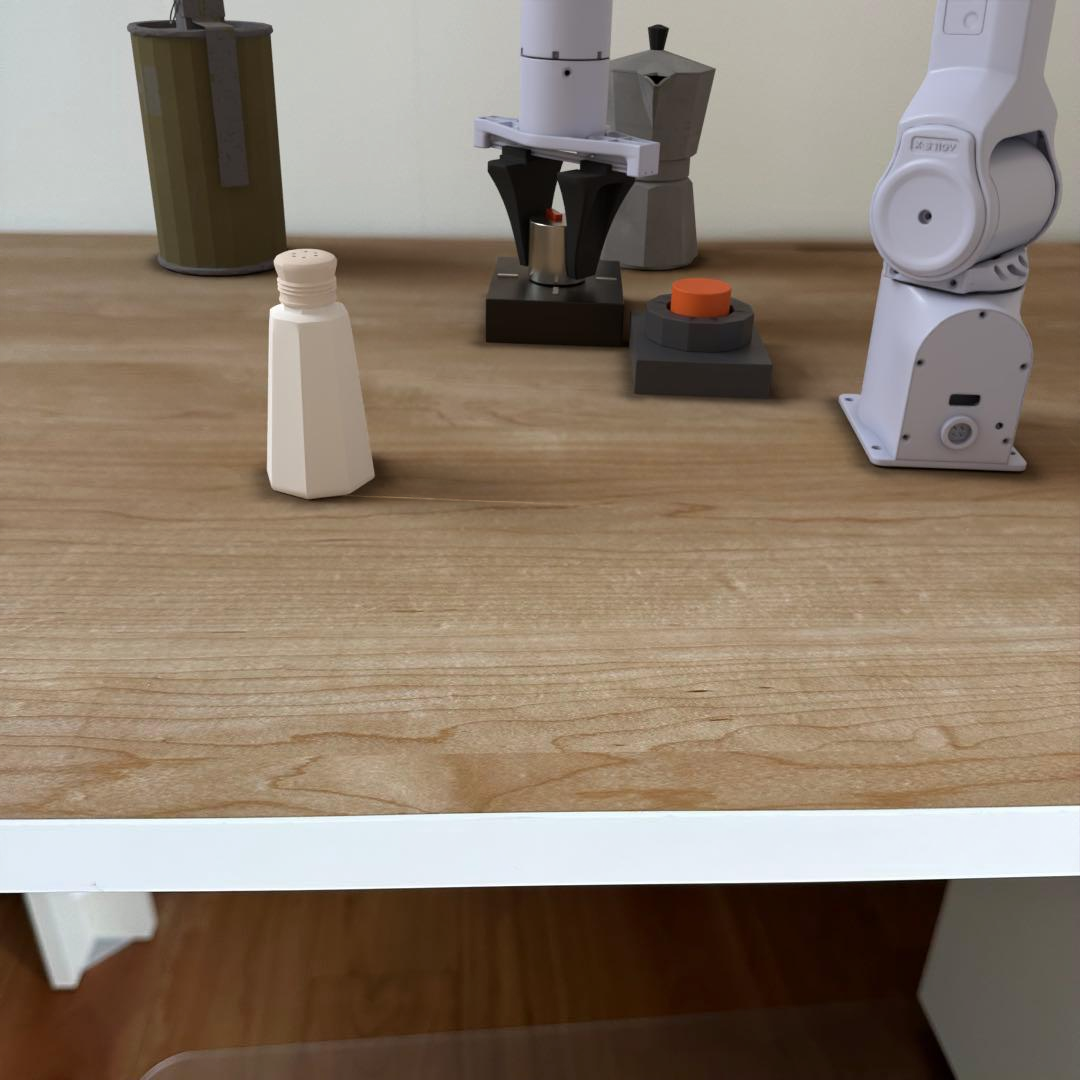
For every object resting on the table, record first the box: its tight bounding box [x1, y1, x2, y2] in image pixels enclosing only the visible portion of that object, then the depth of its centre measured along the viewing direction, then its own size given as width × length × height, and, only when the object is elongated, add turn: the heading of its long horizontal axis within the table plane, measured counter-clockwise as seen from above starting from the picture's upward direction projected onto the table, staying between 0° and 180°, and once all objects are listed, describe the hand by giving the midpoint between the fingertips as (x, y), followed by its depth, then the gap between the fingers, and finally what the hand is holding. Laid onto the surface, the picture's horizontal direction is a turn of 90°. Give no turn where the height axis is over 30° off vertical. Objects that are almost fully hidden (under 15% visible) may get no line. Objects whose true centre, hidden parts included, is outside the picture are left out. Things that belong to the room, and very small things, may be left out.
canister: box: [126, 0, 290, 277], centre depth 87 cm, size 11×10×20 cm
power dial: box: [528, 208, 586, 286], centre depth 78 cm, size 4×4×4 cm
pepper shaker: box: [266, 248, 376, 500], centre depth 54 cm, size 5×5×11 cm
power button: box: [670, 277, 733, 318], centre depth 70 cm, size 4×4×2 cm
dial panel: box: [485, 256, 625, 348], centre depth 79 cm, size 11×9×3 cm
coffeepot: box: [599, 23, 717, 271], centre depth 93 cm, size 15×9×18 cm, turn 176°
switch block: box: [627, 293, 774, 400], centre depth 71 cm, size 10×8×4 cm
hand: (557, 269), depth 78 cm, fingers closed on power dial, 4 cm apart
